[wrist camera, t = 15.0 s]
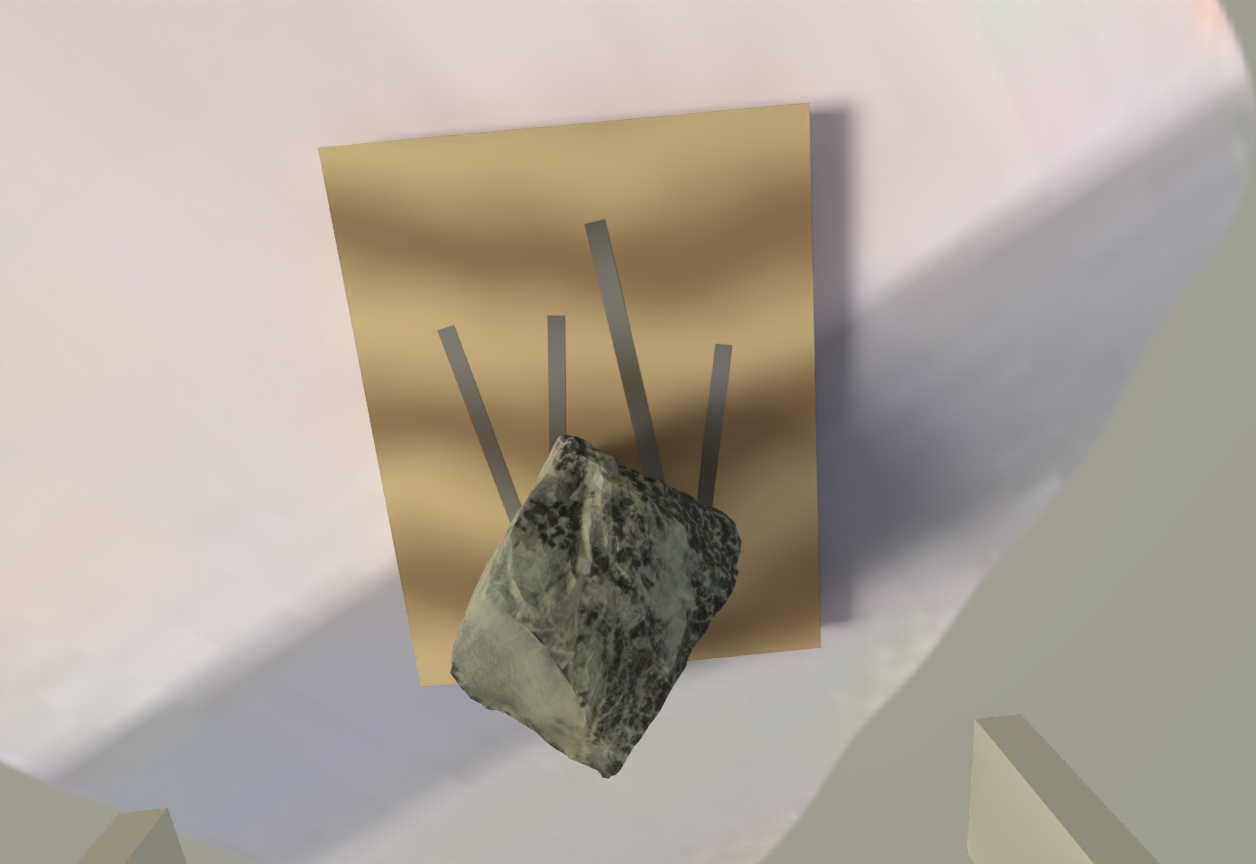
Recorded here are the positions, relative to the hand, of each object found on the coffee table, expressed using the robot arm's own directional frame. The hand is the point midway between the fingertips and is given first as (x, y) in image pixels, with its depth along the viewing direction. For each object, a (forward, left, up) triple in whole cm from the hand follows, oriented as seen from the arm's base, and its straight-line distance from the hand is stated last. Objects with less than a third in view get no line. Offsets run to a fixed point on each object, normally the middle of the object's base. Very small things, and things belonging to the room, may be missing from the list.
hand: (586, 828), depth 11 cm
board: (-4, 0, -16) cm, 16 cm away
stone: (+1, 0, -14) cm, 14 cm away
